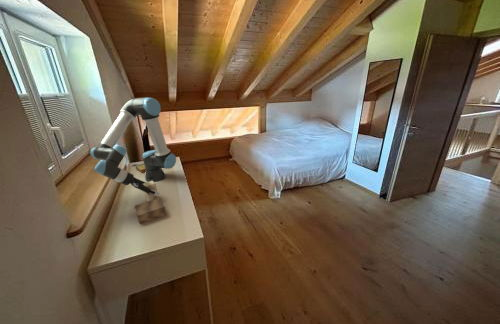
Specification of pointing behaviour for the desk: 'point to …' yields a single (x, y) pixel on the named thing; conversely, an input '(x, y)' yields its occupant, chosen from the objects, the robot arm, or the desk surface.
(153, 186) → the oak block
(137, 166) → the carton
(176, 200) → the desk surface
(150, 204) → the walnut box
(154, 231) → the desk surface
